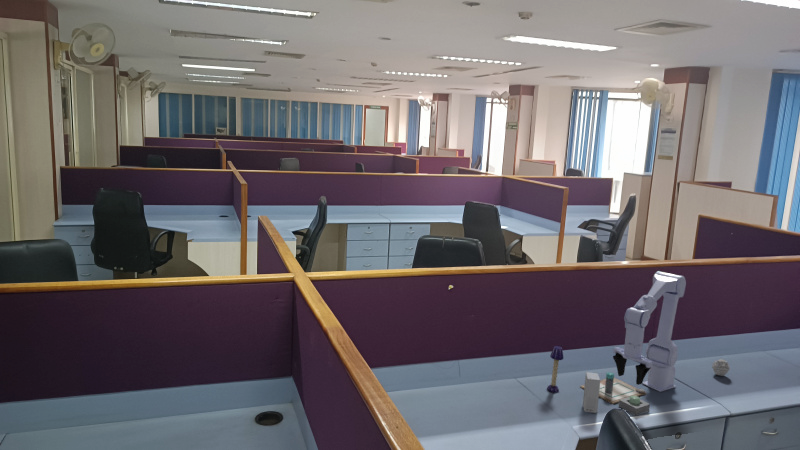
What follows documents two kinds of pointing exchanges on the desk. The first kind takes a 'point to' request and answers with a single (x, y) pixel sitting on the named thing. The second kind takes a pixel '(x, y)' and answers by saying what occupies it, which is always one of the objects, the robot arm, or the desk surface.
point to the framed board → (618, 391)
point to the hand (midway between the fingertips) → (629, 379)
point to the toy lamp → (555, 367)
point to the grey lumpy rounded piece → (720, 367)
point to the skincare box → (591, 392)
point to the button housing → (632, 408)
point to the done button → (634, 400)
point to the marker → (609, 383)
